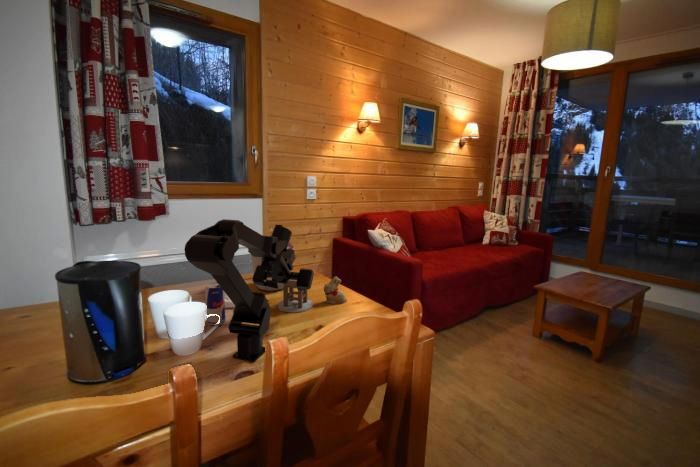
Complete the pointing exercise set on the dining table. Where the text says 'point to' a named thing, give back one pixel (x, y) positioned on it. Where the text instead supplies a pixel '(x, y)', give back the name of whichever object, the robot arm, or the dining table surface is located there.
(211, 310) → the energy drink
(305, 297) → the stool
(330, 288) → the chocolate bunny
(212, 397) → the dining table surface
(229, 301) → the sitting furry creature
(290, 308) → the mat
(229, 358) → the dining table surface
